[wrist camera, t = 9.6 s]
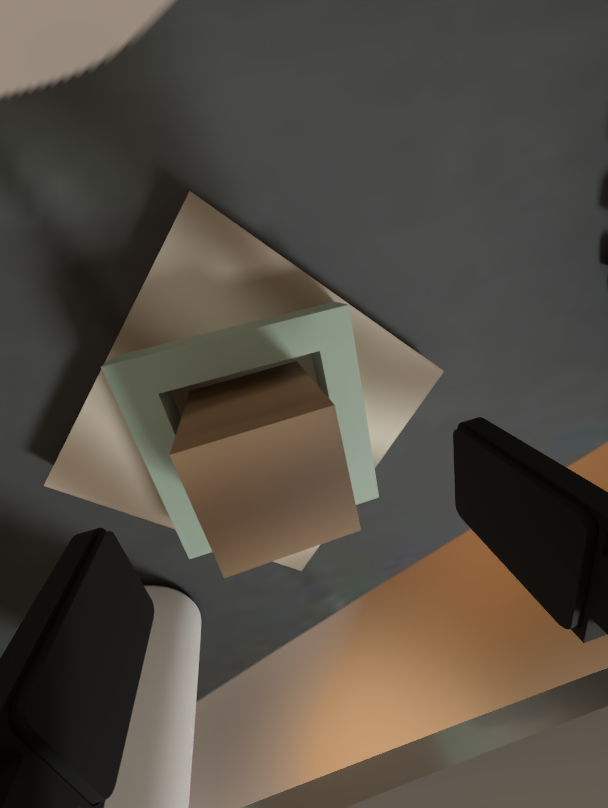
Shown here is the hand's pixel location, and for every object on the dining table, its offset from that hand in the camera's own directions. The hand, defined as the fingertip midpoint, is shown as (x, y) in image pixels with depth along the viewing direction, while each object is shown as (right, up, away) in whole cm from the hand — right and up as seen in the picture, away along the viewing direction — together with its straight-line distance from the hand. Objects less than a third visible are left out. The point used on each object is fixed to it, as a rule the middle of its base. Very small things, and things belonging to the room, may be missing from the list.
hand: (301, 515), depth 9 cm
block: (-2, +2, +7) cm, 8 cm away
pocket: (-2, +2, +7) cm, 8 cm away
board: (-2, +2, +9) cm, 9 cm away
